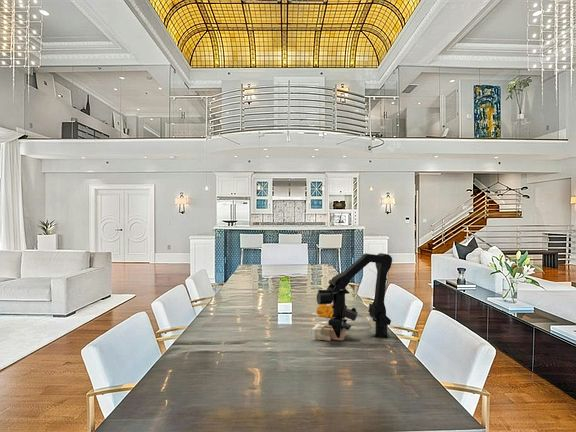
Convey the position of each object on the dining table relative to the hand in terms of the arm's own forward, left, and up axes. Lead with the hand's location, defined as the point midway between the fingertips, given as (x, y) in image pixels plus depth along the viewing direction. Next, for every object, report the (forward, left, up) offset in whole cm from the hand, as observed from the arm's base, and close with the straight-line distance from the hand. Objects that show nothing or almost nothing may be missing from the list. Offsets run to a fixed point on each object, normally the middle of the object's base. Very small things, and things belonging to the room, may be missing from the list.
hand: (339, 336), depth 194 cm
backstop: (0, -11, -1) cm, 11 cm away
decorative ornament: (-51, -15, -2) cm, 53 cm away
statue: (-20, -4, -2) cm, 21 cm away
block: (0, -7, -1) cm, 7 cm away
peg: (0, -3, -1) cm, 3 cm away
